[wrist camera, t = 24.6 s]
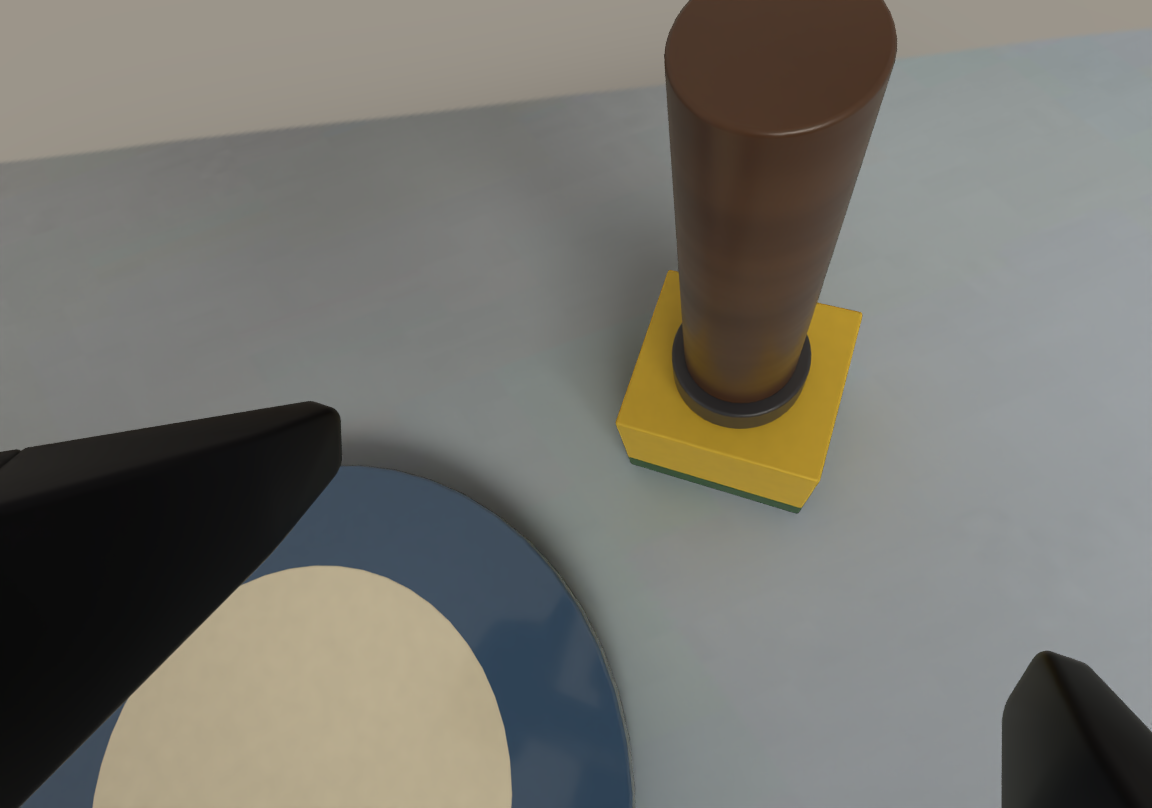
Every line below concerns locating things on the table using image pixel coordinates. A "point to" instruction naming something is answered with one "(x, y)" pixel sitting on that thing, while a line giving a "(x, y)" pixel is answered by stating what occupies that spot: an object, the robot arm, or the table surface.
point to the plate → (374, 676)
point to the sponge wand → (757, 242)
